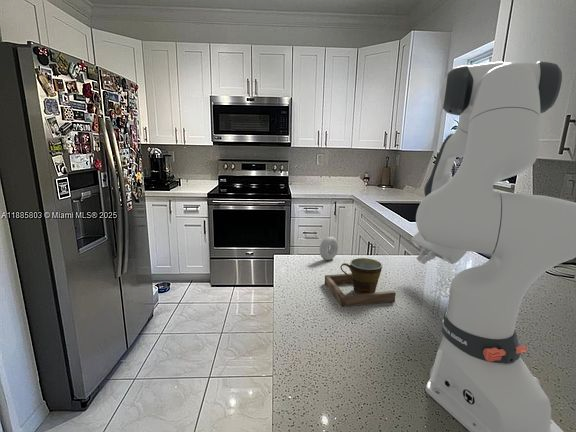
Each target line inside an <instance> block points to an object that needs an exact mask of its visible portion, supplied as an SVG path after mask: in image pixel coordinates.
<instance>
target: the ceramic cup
mask: <svg viewBox="0 0 576 432" xmlns="http://www.w3.org/2000/svg"><path fill="white" fill-rule="evenodd" d="M343 266H346V267H347V268H348V269H349V271H350V272H351V273H352V277H350V276H349V275H348V274H349V273H347V272H346V271H345V270H344V269H343ZM382 269H383V264H382V262H380V261H378V260H376V259H373V258H366V257H359V258H354V259H351V260H350V263H346V262H345V263H342V264H341V265H340V270H341V272H342V273H343V274H346V275H347V276H348V277H349V278H350V279H351V281H352V282H353V283H352V287H353V288H352V289H353V293H354V294H364V293H375V292H377V291H376V290H377V287H378V282H379V279H380V277H381V273H382Z"/></svg>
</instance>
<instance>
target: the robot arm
mask: <svg viewBox="0 0 576 432" xmlns="http://www.w3.org/2000/svg"><path fill="white" fill-rule="evenodd" d="M442 82H443V83H442V84H441V87H440V93H439V95H440V96H439V98H440V103H441V105H442V109H443V111H445V113H447V114H450V115H454V116H459V119H458V123H457V127H456V129H455V132H451V133H450V134H449V135H448V136H446V138H445V139H444V140H443V142H442V143H441V146H440V149H439V151H438V154H437V156H436V159H435V162H434V165H433V167H432V171H431V174H430V176H429V178H428V179H427V181H426V184H425V186H424V189H423V191H424V192H423V193H424V198H423V199H422V200H421V202H420V203H419V205H418V207H417V209H416V213H415V223H416V224H415V225H416V229H417V231H418V232H416V234H414V235H413V236H412V237H411V241H410V242H411V243H413V245H414V246H415V247H417V248H418V249H420V252H419V254H418V256H417V257H416V261H417V262H420V263H422V264H423V265H425V264H427V263H428V262H429V261H433V260H434V259H435V258H439V259H440V260H442V261H444V262H447V263H448V264H451V265H454V264H456V263H458V262H459V261H460V260H461V259H462V258H464V256H465V255H466V253H468V252H471V253H480V254H486V255H489V254H490V255H492V256H491V257H490V258H489V259H488V261H486V262H484V263H483V264H480V265H477V266H474V267H469V268H466V269H464V270H461V271H460V272H458V273H457V274H456V275H455V276H454V277H453V278H452V279H451V282H450V287H449V295H448V303H447V310H446V311H445V312H444V314H443V319H442V322H441V324H442V327H441V332H442V334H443V335H442V338H441V341H440V344H439V347H438V350H437V352H436V354H435V359H434V363H433V365H432V366H431V368H430V370H429V379H428V381H427V382H426V384H425V385H426V386H425V392H426V394H427V395H428V396H430V397H431V398H432V399H433V400H435V402H436V403H438V404H439V405H440V406H441V407H442V408H444V410H445V411H446V412H448V413H449V415H451V416H452V417H453V418H455V420H457V421H458V422H459V423H460V424H461V425H462V426H463V427H464V428H466V429H467V431H469V432H564V430H563V429H562V428H561V427H560V426H559V425H558V424H557V423H556V422H555V421H554V420H553V419H552V407H551V401H550V399H549V397H548V395H547V394H546V392H545V391H544V389H542V387H541V382H540V380H539V379H538V378H537V377H536V376H534V375H533V374H532V372H531V371H530V369H529V368H528V366H527V365H526V363H525V362H524V361H523V359H522V358H521V354H523V353H527V352H528V350H526V349H528V345H521V346H520V344H519V340H518V335H517V331H516V324H517V319H518V315H519V313H520V312H519V310H520V308H521V305H522V302H523V299H524V296H525V295H526V292H527V291H528V289H529V288H530V287H531V285H532V284H533V283H534V282H535V281H536V280H537V279H538V278H539V277H541V275H542V274H545V273H546V272H547V271H549V270H550V269H553V267H555V266H557V265H560V264H563V263H565V262H567V261H570V260H571V261H572V260H573V259H575V258H576V202H575V201H571V200H567V199H563V198H560V197H559V198H558V197H554V196H553V197H552V196H549V195H548V196H547V195H542V194H541V195H540V194H525V193H524V194H523V193H510V192H509V193H508V192H500V191H495V190H494V185H495V184H496V183H498V182H501V181H504V180H505V179H509V178H512V177H515V176H518V175H520V174H522V173H523V172H525V171H528V170H529V169H530V168H531V167H532V166H533V165H534V164H535V163H536V160H537V159H538V155H539V147H540V145H539V144H540V129H541V128H540V126H541V114H543V113H546V112H547V111H548V110H549V109H551V108H553V107H554V105H555V103H556V101H557V99H558V98H559V96H560V94H561V91H562V86H563V71H562V69H561V67H559V65H558V64H557V63H554V62H550V61H539V60H538V61H537V62H526V61H525V62H524V61H509V62H507V61H504V62H503V61H494V62H493V61H492V62H486V63H485V62H484V63H480V64H479V63H478V64H472V65H468V64H465V65H459V66H457V67H454V68H452V69H450V71H448V73H447V74H446V77H445V79H444V81H442ZM456 158H463V159H462V161H461V164H460V166H459V167H458V169H457V171H456V172H455V174H454V175H453V176H452V175H451V171H452V169H453V166H454V164H455V161H456Z"/></svg>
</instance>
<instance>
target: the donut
mask: <svg viewBox="0 0 576 432" xmlns="http://www.w3.org/2000/svg"><path fill="white" fill-rule="evenodd" d="M329 246H330V247H329ZM338 250H339V243H338V240H337V239H336V238H335V237H334V236H326V237H325V238H324V239H323V240H322V241H321V243H320V245H319V255H320V257H321V258H322V259H324V260H325V261H331V260H333V259H334V258H335V257H336V255H337V254H338Z"/></svg>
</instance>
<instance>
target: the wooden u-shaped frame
mask: <svg viewBox="0 0 576 432" xmlns="http://www.w3.org/2000/svg"><path fill="white" fill-rule="evenodd" d="M347 274H348V275H349V276H350V277H352V273H347ZM350 283H351V284H353V282H352V281H351V279H350V278H349V277H348V276H347V275H346V274H345V273H340V274H339V273H337V274H326V275H324V284H325V286H326V287H327V289H328V290H329V292H330V293H331V295H333V296H334V298H335V299H336V301H337V302H338V304H339V305H340V306H341V307H354V306H363V305H373V304H383V303H384V304H385V303H392V302H394V303H395V302H396V292H395V291H394V290H388V291H375V293H364V294H355V293H354V294H353V293H352V294H344V292H343V291H342V290H341V289H340V287H339V286H338V285H339V284H340V285H341V284H342V285H343V284H350Z"/></svg>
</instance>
